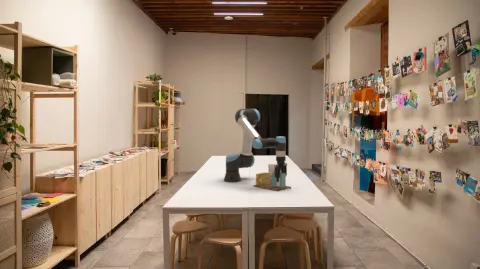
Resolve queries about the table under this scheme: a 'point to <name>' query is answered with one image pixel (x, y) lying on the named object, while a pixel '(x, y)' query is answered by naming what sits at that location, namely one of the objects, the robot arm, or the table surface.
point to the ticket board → (269, 186)
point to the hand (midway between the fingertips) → (280, 185)
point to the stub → (282, 180)
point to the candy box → (271, 169)
